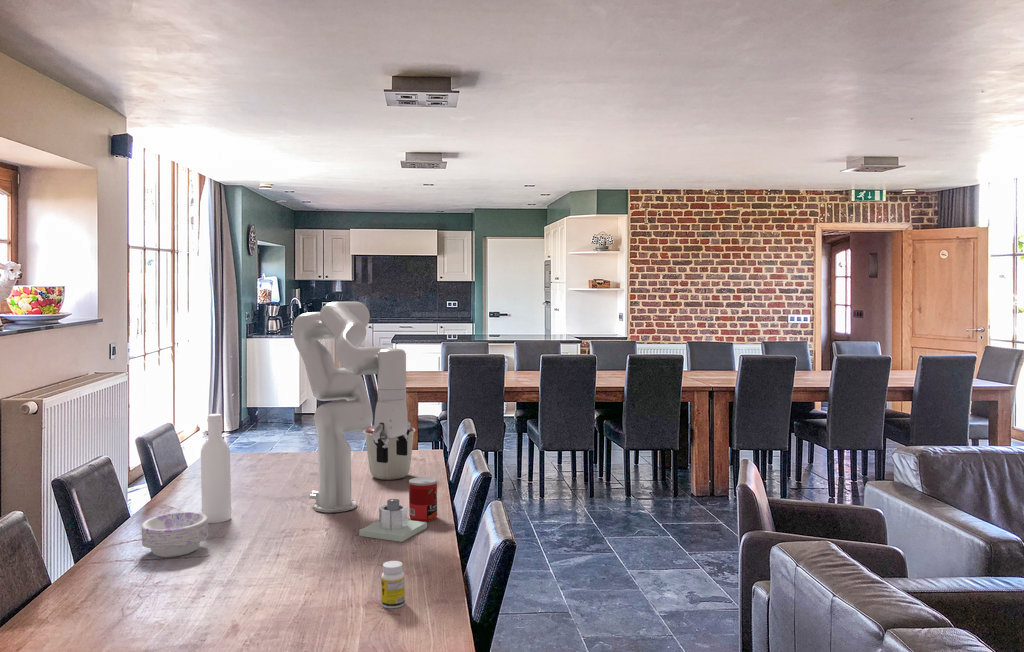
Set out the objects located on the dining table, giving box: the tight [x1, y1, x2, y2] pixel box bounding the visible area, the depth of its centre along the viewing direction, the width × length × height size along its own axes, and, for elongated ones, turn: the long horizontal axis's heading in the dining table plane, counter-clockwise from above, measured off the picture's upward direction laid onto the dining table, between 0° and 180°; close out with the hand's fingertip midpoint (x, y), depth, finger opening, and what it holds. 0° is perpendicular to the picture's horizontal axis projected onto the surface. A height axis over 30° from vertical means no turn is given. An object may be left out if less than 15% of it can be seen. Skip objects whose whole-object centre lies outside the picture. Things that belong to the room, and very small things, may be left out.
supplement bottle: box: [380, 560, 406, 609], centre depth 157 cm, size 5×5×8 cm
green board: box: [358, 519, 428, 543], centre depth 206 cm, size 13×13×2 cm
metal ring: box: [378, 503, 408, 530], centre depth 206 cm, size 7×7×5 cm
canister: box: [362, 425, 416, 481], centre depth 269 cm, size 18×18×21 cm
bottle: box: [200, 413, 233, 524], centre depth 218 cm, size 8×8×30 cm
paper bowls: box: [140, 511, 209, 558], centre depth 191 cm, size 15×15×8 cm
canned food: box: [408, 476, 438, 523], centre depth 219 cm, size 8×8×11 cm
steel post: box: [386, 498, 400, 511], centre depth 206 cm, size 3×3×7 cm
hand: (392, 458), depth 206 cm, fingers open, 9 cm apart
